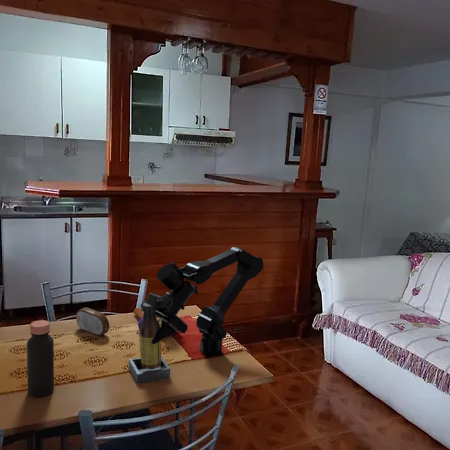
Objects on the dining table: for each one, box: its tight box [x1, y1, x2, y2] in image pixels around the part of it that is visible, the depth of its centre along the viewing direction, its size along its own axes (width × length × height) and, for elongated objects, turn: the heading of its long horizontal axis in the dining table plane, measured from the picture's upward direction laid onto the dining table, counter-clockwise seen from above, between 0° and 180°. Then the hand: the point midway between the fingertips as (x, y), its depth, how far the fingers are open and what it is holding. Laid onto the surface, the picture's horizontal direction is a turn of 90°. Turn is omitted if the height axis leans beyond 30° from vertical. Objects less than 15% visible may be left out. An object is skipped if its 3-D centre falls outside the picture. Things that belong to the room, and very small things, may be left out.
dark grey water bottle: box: [26, 319, 55, 398], centre depth 129 cm, size 7×7×20 cm
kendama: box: [133, 307, 143, 330], centre depth 180 cm, size 6×6×20 cm
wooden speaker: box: [75, 306, 110, 337], centre depth 170 cm, size 15×3×8 cm, turn 58°
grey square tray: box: [128, 355, 171, 384], centre depth 144 cm, size 10×10×3 cm
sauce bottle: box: [139, 302, 162, 369], centre depth 142 cm, size 6×6×20 cm
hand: (146, 339), depth 141 cm, fingers closed on sauce bottle, 6 cm apart
